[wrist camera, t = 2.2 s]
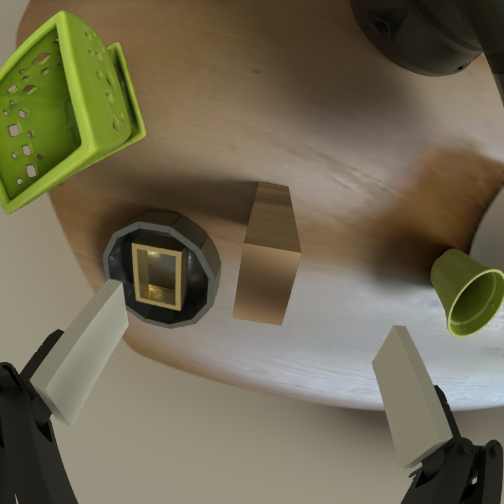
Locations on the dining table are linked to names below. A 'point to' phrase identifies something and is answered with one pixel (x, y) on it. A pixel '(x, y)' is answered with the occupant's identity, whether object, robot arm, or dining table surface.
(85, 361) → the robot arm
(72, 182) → the dining table surface
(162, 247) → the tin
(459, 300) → the plant pot
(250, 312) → the wooden slab
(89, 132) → the flower pot
